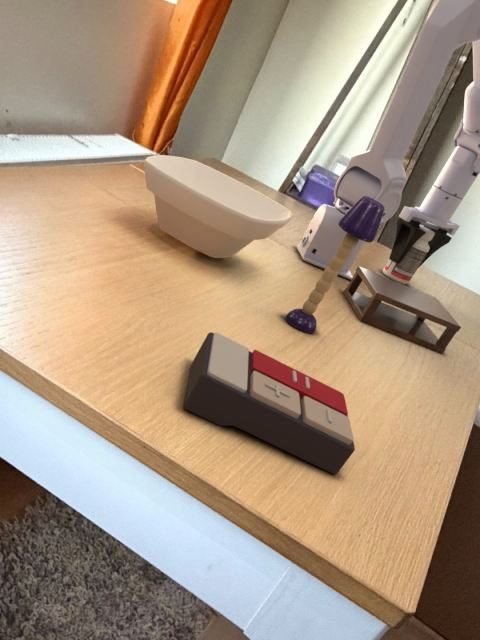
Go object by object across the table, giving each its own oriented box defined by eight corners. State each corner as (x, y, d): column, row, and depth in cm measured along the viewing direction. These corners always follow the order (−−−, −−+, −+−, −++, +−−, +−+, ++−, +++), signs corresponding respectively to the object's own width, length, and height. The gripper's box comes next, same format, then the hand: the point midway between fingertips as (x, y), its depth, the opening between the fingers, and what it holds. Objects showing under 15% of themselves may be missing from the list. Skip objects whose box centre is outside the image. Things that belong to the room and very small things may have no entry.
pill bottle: (412, 286, 142) (444, 236, 137) (397, 283, 139) (429, 233, 134) (391, 272, 145) (421, 223, 140) (376, 269, 142) (406, 219, 137)
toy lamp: (319, 329, 99) (391, 205, 90) (317, 340, 95) (392, 212, 86) (286, 313, 99) (354, 188, 90) (283, 323, 95) (354, 193, 86)
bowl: (277, 270, 115) (306, 216, 110) (229, 288, 99) (260, 225, 94) (167, 209, 120) (189, 154, 115) (104, 216, 104) (127, 153, 99)
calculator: (361, 444, 64) (205, 367, 63) (332, 481, 67) (182, 408, 66) (349, 391, 73) (212, 323, 72) (324, 426, 76) (192, 361, 75)
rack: (360, 320, 110) (377, 292, 107) (342, 292, 119) (358, 265, 117) (442, 353, 112) (461, 327, 109) (419, 323, 122) (436, 297, 119)
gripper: (455, 191, 139) (412, 260, 147) (407, 174, 131) (364, 247, 139) (483, 207, 135) (437, 277, 143) (435, 190, 127) (390, 265, 135)
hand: (403, 263), depth 141 cm, fingers closed on pill bottle, 5 cm apart
